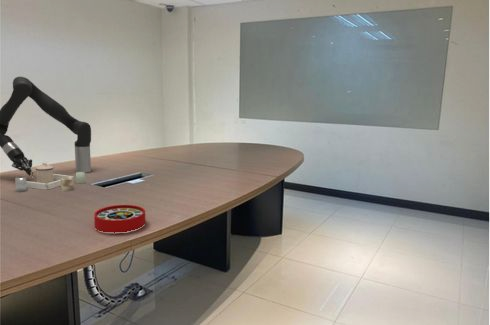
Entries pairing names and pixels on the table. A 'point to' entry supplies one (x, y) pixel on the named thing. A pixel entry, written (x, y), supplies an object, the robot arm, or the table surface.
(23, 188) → the metal cylinder
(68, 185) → the birch block
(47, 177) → the teacup with lid
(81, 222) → the table surface
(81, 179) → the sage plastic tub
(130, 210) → the toy clock
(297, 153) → the table surface
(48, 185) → the sorting bay
